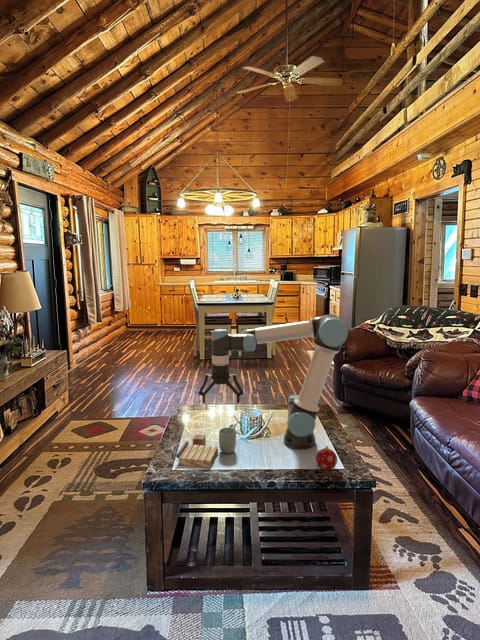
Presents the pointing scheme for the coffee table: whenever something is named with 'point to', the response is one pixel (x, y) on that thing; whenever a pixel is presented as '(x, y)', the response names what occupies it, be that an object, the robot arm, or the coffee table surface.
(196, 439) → the crate
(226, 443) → the cup
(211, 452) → the pallet dock
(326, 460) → the christmas ornament
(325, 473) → the coffee table surface
